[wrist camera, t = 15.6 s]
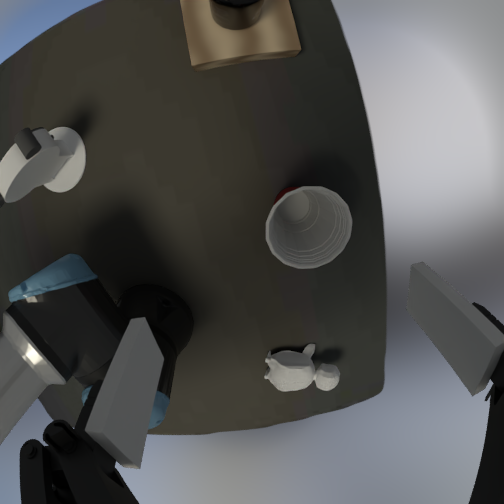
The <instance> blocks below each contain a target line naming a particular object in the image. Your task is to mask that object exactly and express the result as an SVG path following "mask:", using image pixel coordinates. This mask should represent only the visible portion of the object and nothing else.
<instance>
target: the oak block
mask: <svg viewBox="0 0 504 504" xmlns="http://www.w3.org/2000/svg"><path fill="white" fill-rule="evenodd" d="M180 2H181V8H182V14H183V19H184V25H185V31H186V36H187V42H188V47H189V53H190V58H191V64H192V67H193V68H194V70H195V72H197V71H202V70H206V69H211V68H216V67H221V66H226V65H232V64H238V63H244V62H251V61H258V60H266V59H275V58H285V57H296V55H297V54H298V53H299V52H300V51H301V46H300V42H299V38H298V34H297V30H296V26H295V22H294V18H293V15H292V11H291V7H290V4H289V0H264V3H263V7H262V11H261V15H260V17H259V19H258V21H257V22H256V23H255V24H254V25H252V26H250V27H248V28H246V29H242V30H229V29H225V28H223V27H221V26H219V25H218V24H217V23H216V22H215V21H214V20H213V18H212V15H211V10H210V4H209V0H180Z"/></svg>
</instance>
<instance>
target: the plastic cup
mask: <svg viewBox="0 0 504 504" xmlns="http://www.w3.org/2000/svg"><path fill="white" fill-rule="evenodd" d="M351 229H352V217H351V214H350V211H349V207H348V205H347V204H346V203H345V202H344V200H343V199H342V198H341V197H340V196H339V195H338V194H337V193H335V192H333V191H331V190H329V189H326V188H324V187H322V186H303V187H289V188H286V189H284V190H282V191H281V192H280V193H279V194H278V195H277V197H276V199H275V202H274V205H273V207H272V210H271V212H270V214H269V216H268V219H267V221H266V241H267V243H268V245H269V247H270V249H271V252H272V254H273V255H275V256H276V257H277V258H278V259H279V260H280V261H281V262H283V263H284V264H286V265H289V266H292V267H295V268H298V269H305V268H317V267H319V266H321V265H324V264H326V263H329V262H331V261H332V260H333V259H334V258H335V257H336V256H338V255H339V254H340V253H341V252H342V251H343V250H344V248H345V246H346V244H347V242H348V240H349V239H350V237H351Z"/></svg>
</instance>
